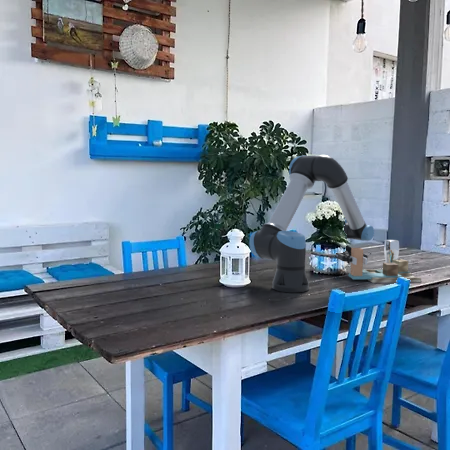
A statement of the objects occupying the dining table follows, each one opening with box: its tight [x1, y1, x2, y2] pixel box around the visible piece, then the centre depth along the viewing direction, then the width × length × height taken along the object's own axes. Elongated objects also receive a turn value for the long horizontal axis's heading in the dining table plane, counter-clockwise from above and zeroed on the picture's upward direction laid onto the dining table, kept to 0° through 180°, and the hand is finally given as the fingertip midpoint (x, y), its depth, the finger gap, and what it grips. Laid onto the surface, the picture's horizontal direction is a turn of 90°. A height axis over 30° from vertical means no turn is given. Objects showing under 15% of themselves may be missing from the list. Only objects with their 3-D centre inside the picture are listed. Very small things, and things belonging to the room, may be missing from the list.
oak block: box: [392, 258, 409, 272], centre depth 220 cm, size 5×5×5 cm
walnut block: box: [382, 262, 398, 276], centre depth 211 cm, size 5×5×5 cm
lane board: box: [362, 268, 422, 284], centre depth 216 cm, size 22×19×2 cm
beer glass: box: [383, 239, 400, 263], centre depth 231 cm, size 7×7×15 cm
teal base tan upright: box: [348, 247, 402, 280], centre depth 210 cm, size 22×7×13 cm, turn 93°
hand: (361, 261), depth 204 cm, fingers closed on teal base tan upright, 4 cm apart
